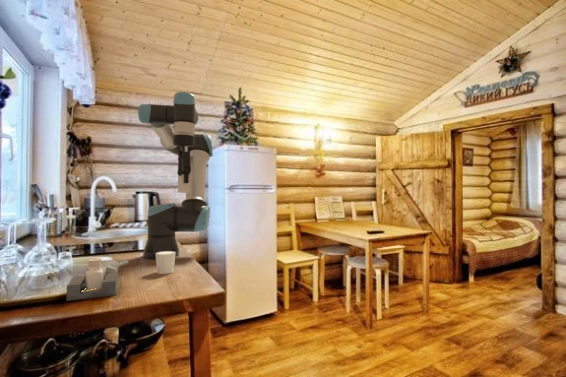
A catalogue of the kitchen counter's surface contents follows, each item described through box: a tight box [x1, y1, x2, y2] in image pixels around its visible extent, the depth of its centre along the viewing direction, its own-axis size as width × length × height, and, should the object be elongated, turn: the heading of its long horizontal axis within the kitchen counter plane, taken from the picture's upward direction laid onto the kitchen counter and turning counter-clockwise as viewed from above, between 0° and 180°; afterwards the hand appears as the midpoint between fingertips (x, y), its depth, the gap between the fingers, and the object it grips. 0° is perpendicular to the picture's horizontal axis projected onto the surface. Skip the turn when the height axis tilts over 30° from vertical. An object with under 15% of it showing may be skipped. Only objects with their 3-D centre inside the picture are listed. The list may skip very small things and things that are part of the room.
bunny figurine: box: [86, 259, 129, 281], centre depth 105 cm, size 10×5×15 cm
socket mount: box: [65, 272, 119, 302], centre depth 88 cm, size 10×12×4 cm
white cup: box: [155, 251, 176, 275], centre depth 111 cm, size 7×7×7 cm
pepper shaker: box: [85, 258, 104, 290], centre depth 88 cm, size 4×4×10 cm
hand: (183, 192), depth 113 cm, fingers open, 13 cm apart
